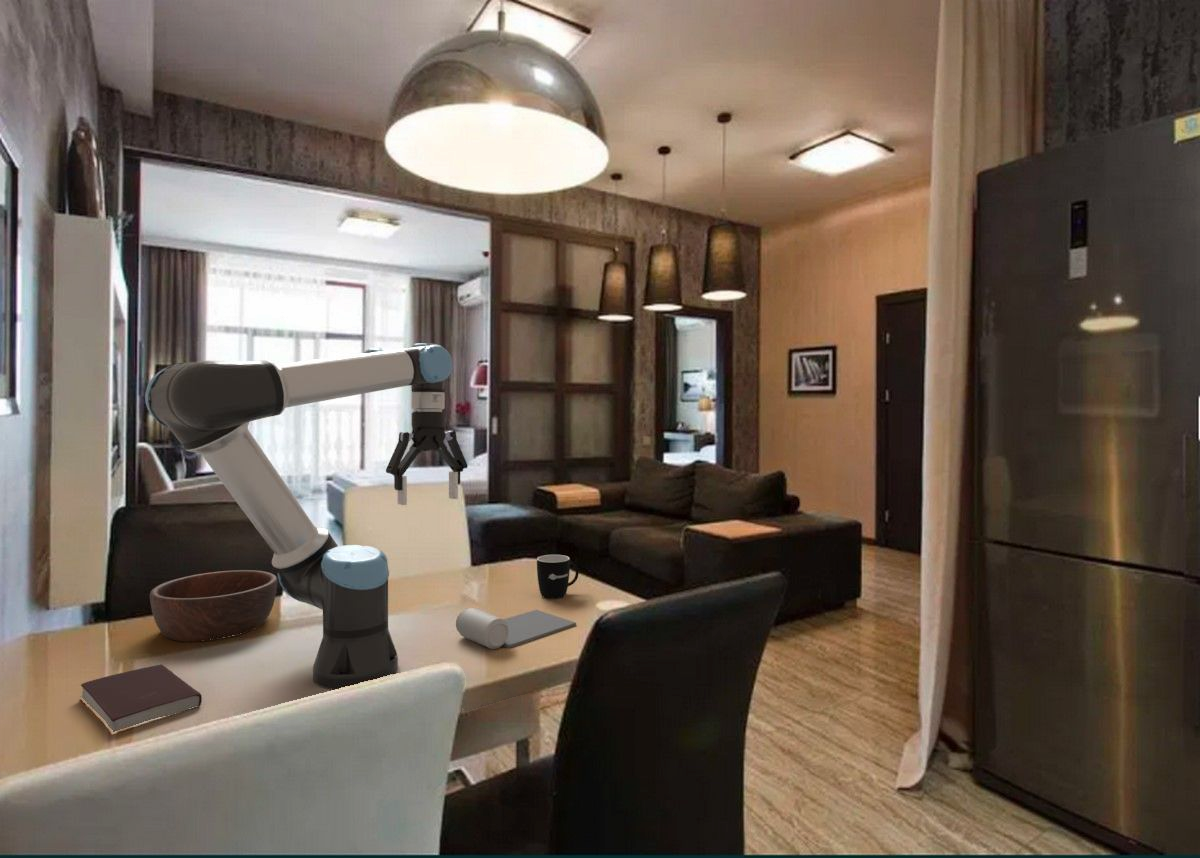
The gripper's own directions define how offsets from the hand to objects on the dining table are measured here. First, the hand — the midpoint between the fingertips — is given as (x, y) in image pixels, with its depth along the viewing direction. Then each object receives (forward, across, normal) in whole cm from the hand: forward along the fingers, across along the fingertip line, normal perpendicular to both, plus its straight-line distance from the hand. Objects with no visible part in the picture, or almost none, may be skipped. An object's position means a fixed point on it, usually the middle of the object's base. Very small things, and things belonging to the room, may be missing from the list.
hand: (428, 501), depth 149 cm
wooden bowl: (+29, -35, +32) cm, 56 cm away
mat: (+29, +13, -19) cm, 37 cm away
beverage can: (+26, +1, -25) cm, 36 cm away
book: (+29, -56, 0) cm, 63 cm away
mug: (+29, +37, -5) cm, 47 cm away
